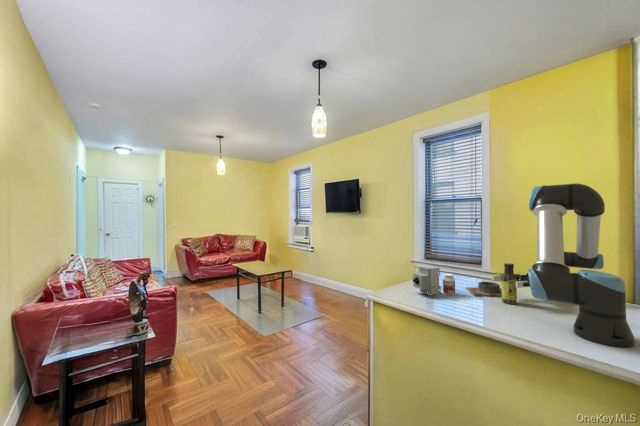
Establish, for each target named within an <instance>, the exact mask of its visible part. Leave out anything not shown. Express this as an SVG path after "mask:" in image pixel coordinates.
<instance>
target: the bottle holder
mask: <svg viewBox="0 0 640 426" xmlns="http://www.w3.org/2000/svg"><path fill="white" fill-rule="evenodd" d="M477 286H478V287H471V286H470V287H469V286H466V287H465V290H466V291H467V290H468V291H469V293H470V294H471V295H472V294H473V295H472V296H473V297H482V296H487V298H489V297H490V298H494V297H495V298H502V287H501V286H500V284H499V283H496V282H494V281H493V282H492V281H479V282H478V283H477ZM468 291H467V292H468Z"/></svg>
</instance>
